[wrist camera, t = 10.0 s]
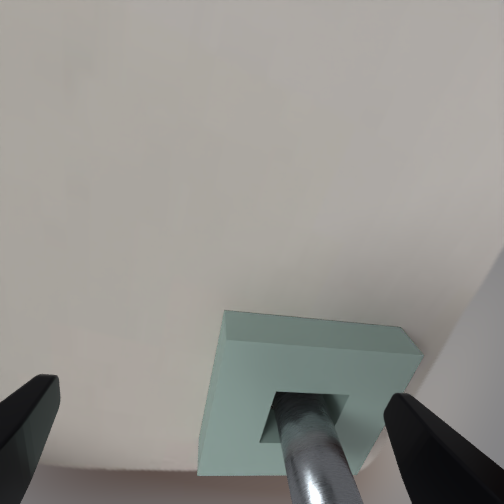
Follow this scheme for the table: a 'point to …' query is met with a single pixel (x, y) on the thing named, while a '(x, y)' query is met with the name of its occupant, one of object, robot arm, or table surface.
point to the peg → (312, 451)
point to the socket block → (298, 386)
